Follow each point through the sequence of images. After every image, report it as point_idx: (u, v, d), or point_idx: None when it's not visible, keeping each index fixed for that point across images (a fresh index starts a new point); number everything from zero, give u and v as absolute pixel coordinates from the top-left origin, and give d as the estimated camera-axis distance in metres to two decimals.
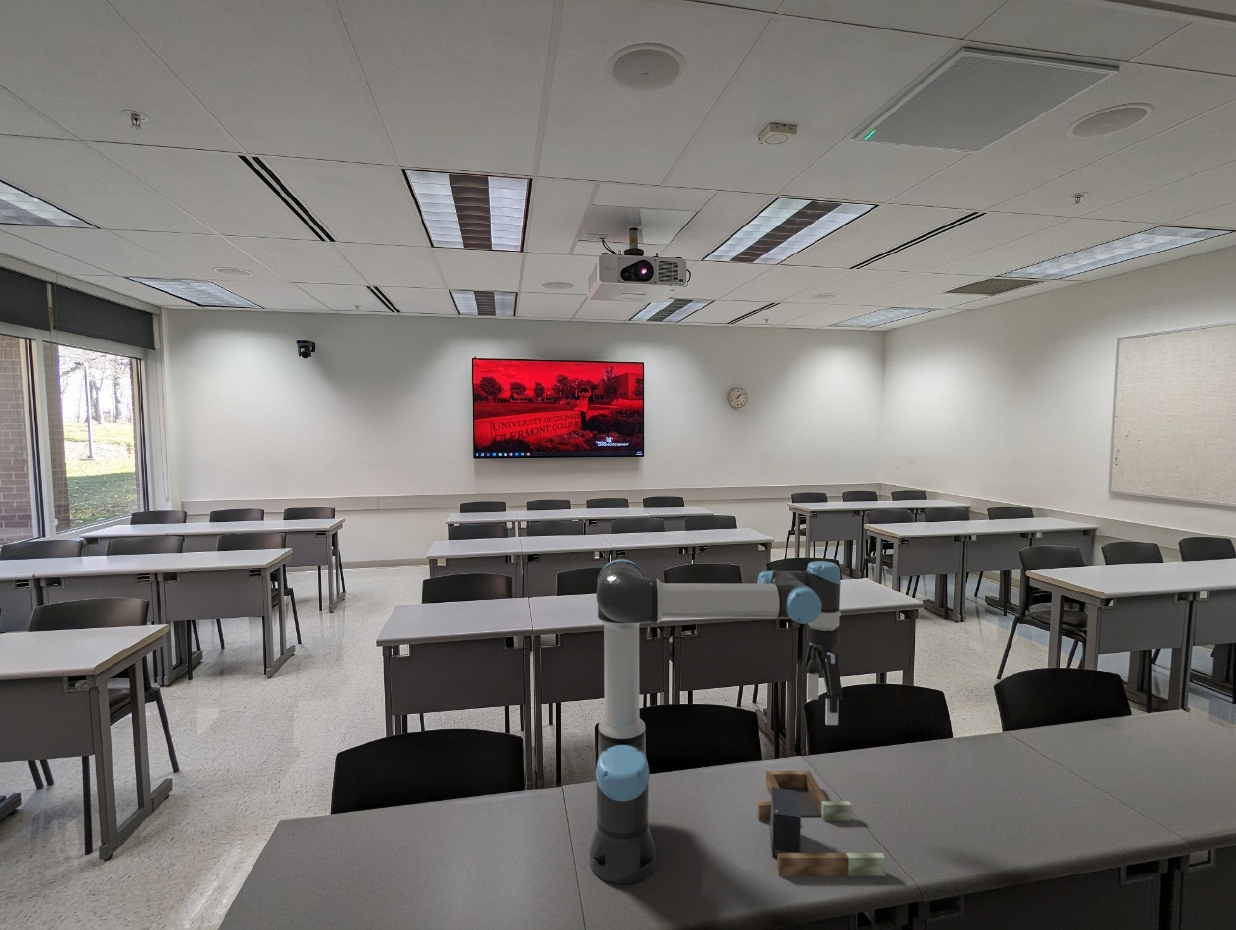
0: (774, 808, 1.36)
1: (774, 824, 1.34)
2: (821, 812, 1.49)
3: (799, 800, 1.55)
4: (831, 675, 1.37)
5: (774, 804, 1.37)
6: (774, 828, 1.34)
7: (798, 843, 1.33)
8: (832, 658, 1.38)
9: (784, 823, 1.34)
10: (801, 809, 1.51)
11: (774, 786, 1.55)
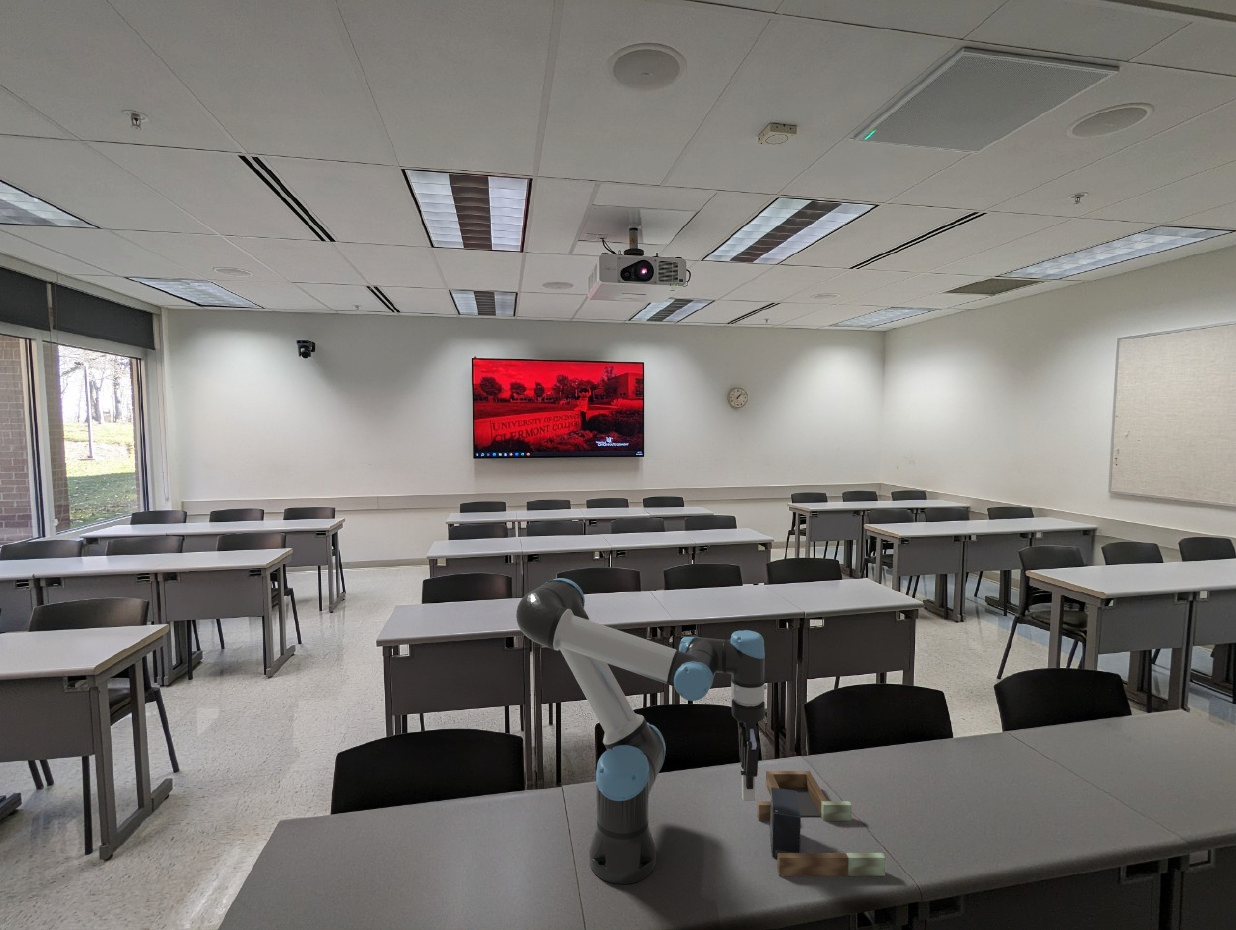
0: (774, 808, 1.36)
1: (774, 824, 1.34)
2: (821, 812, 1.49)
3: (799, 800, 1.55)
4: (749, 759, 1.33)
5: (774, 804, 1.37)
6: (774, 828, 1.34)
7: (798, 843, 1.33)
8: (754, 747, 1.32)
9: (784, 823, 1.34)
10: (801, 809, 1.51)
11: (774, 786, 1.55)
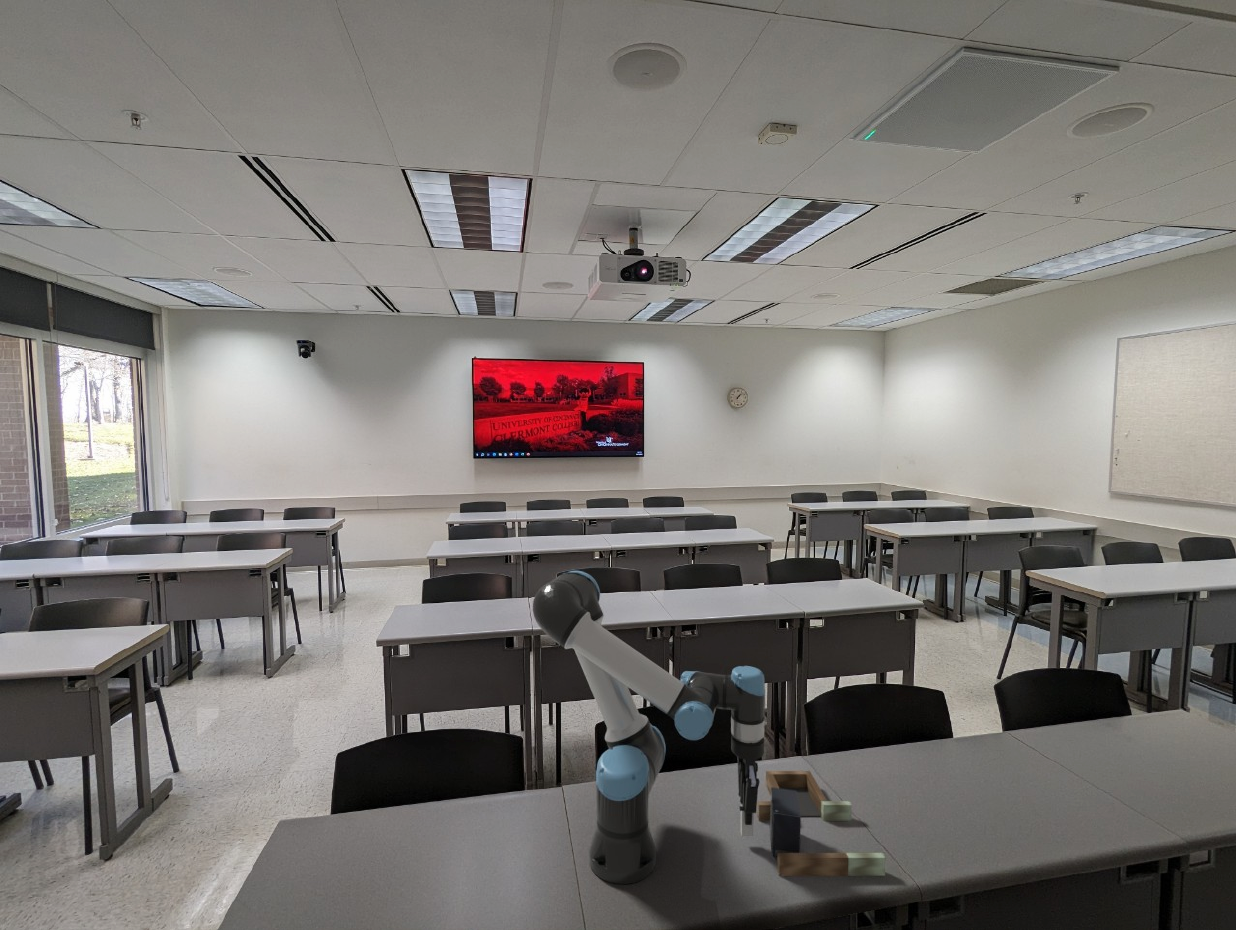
0: (774, 808, 1.36)
1: (774, 824, 1.34)
2: (821, 812, 1.49)
3: (799, 800, 1.55)
4: (748, 796, 1.34)
5: (774, 804, 1.37)
6: (774, 828, 1.34)
7: (798, 843, 1.33)
8: (753, 784, 1.32)
9: (784, 823, 1.34)
10: (801, 809, 1.51)
11: (774, 786, 1.55)
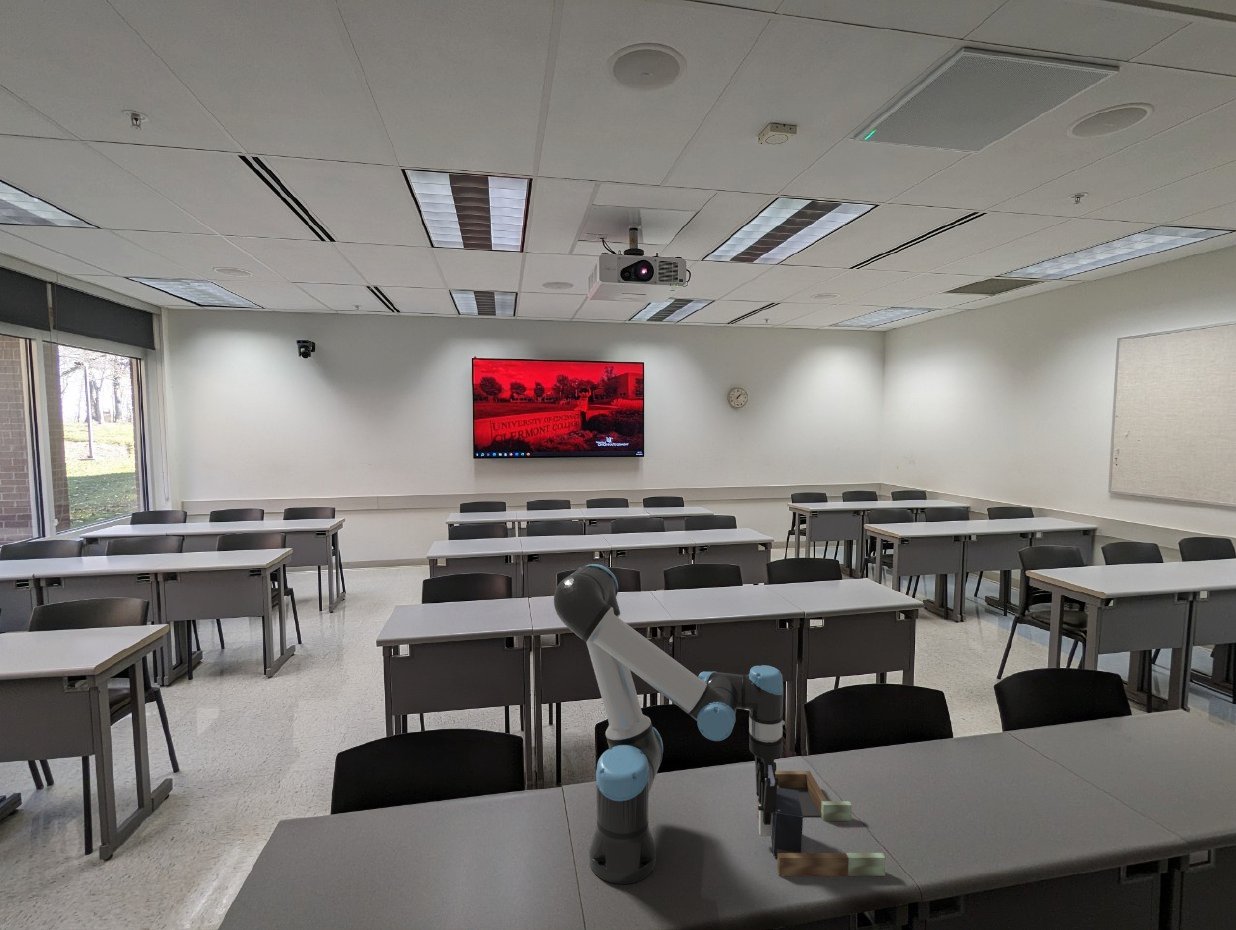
0: (776, 808, 1.36)
1: (776, 823, 1.34)
2: (821, 812, 1.49)
3: None
4: (767, 795, 1.33)
5: (776, 803, 1.37)
6: (776, 827, 1.34)
7: (800, 843, 1.33)
8: (772, 784, 1.32)
9: (786, 823, 1.34)
10: None
11: None
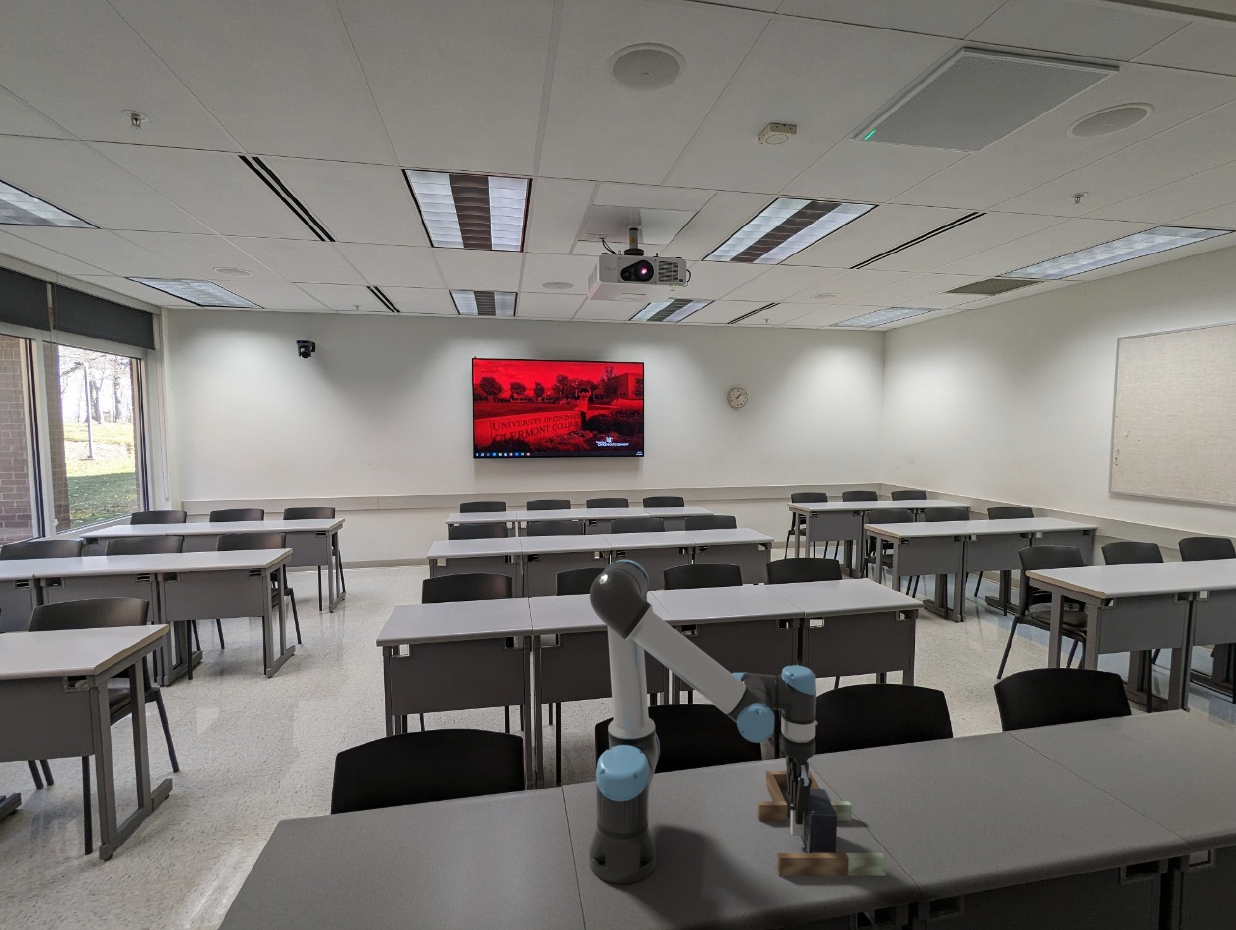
0: (810, 809, 1.35)
1: (811, 825, 1.34)
2: None
3: None
4: (801, 795, 1.34)
5: (808, 805, 1.37)
6: (811, 829, 1.34)
7: (835, 842, 1.34)
8: (806, 784, 1.32)
9: (821, 823, 1.34)
10: None
11: (774, 786, 1.55)
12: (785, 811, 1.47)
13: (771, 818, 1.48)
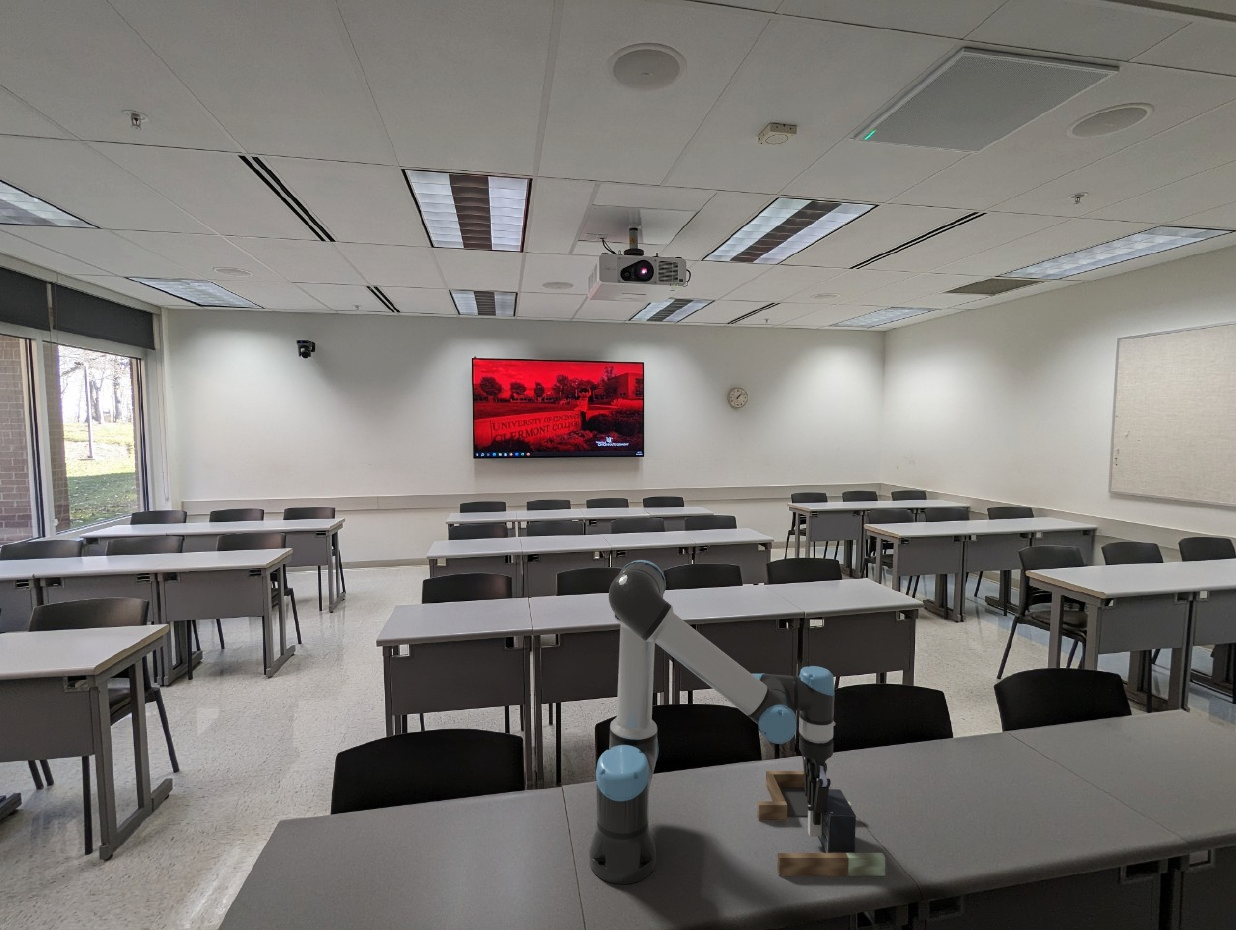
0: (828, 810, 1.35)
1: (830, 826, 1.34)
2: None
3: (799, 800, 1.55)
4: (819, 796, 1.34)
5: None
6: (830, 830, 1.34)
7: (854, 842, 1.34)
8: (824, 784, 1.32)
9: (840, 824, 1.33)
10: (801, 809, 1.51)
11: (774, 786, 1.55)
12: (785, 811, 1.47)
13: (771, 818, 1.48)
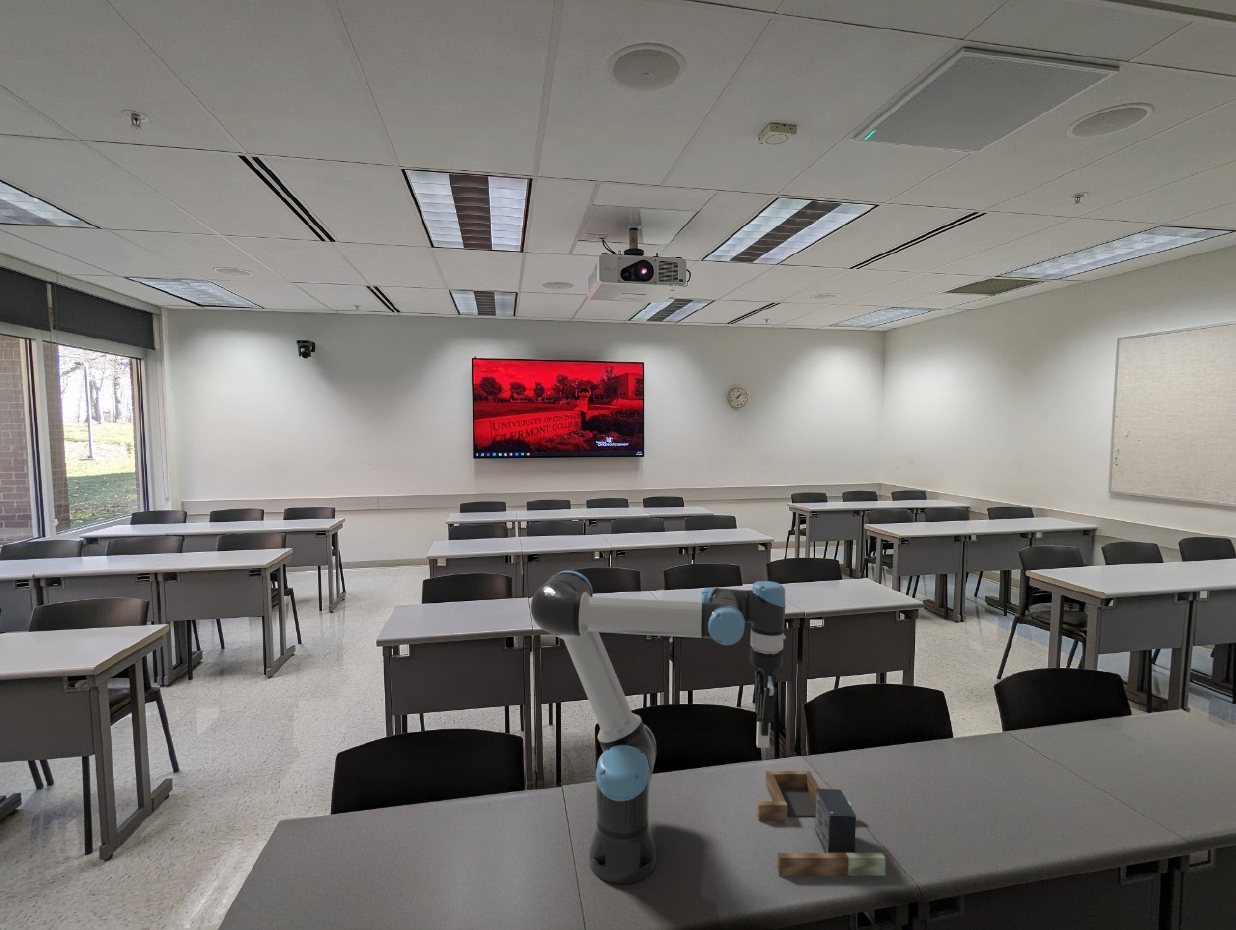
0: (828, 810, 1.35)
1: (830, 826, 1.34)
2: None
3: (799, 800, 1.55)
4: (766, 705, 1.36)
5: (826, 806, 1.37)
6: (830, 830, 1.34)
7: (854, 842, 1.34)
8: (771, 693, 1.34)
9: (840, 824, 1.33)
10: (801, 809, 1.51)
11: (774, 786, 1.55)
12: (785, 811, 1.47)
13: (771, 818, 1.48)
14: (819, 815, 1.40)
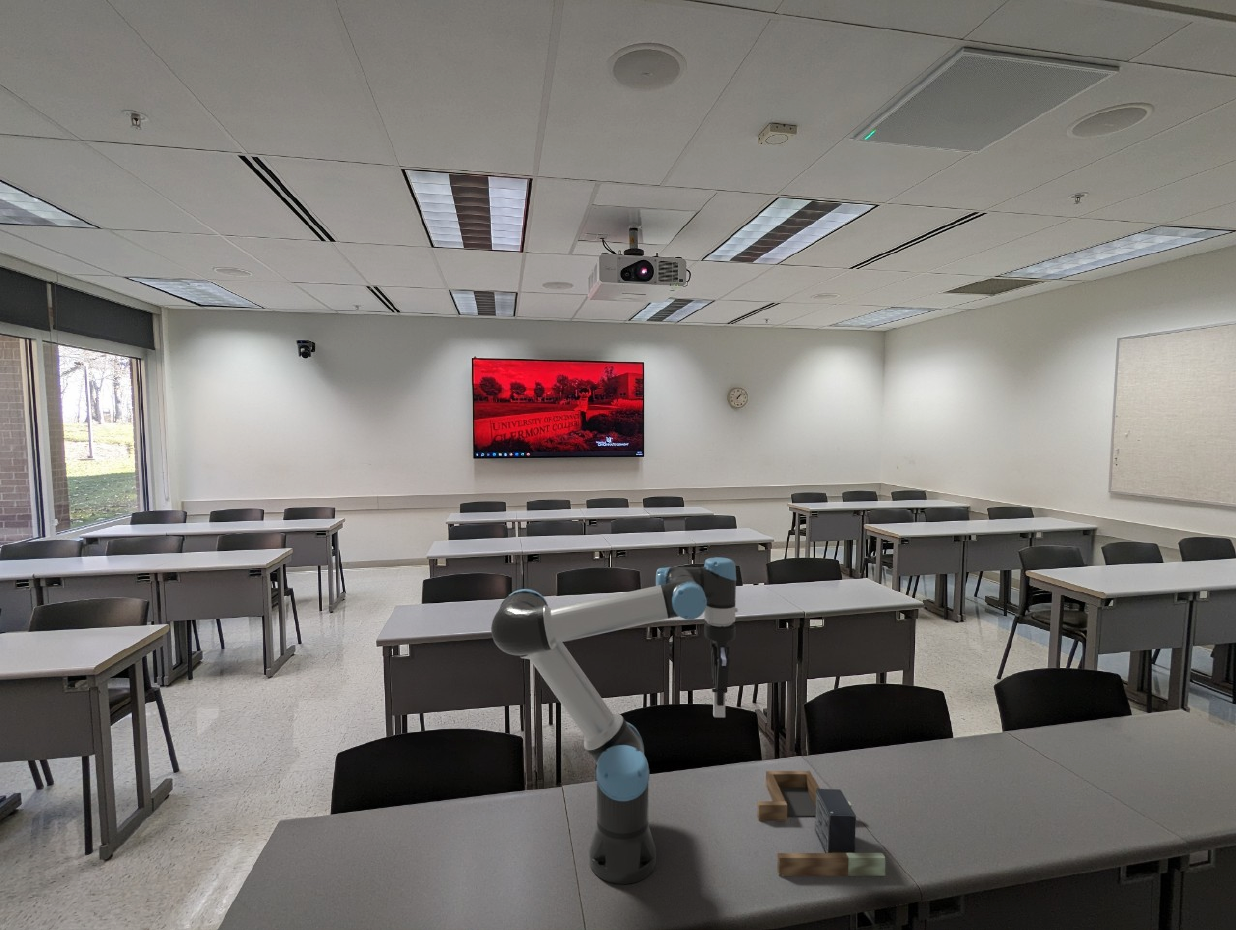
0: (828, 810, 1.35)
1: (830, 826, 1.34)
2: None
3: (799, 800, 1.55)
4: (720, 675, 1.41)
5: (826, 806, 1.37)
6: (830, 830, 1.34)
7: (854, 842, 1.34)
8: (724, 663, 1.40)
9: (840, 824, 1.33)
10: (801, 809, 1.51)
11: (774, 786, 1.55)
12: (785, 811, 1.47)
13: (771, 818, 1.48)
14: (819, 815, 1.40)
